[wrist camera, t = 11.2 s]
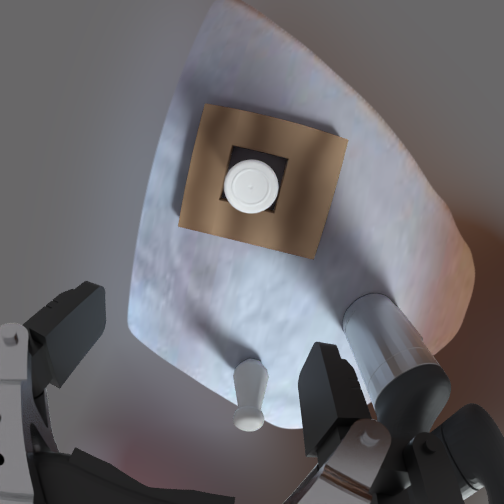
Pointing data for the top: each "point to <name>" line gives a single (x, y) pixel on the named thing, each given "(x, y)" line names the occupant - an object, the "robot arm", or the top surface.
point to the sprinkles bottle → (251, 186)
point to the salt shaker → (250, 394)
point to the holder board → (291, 188)
